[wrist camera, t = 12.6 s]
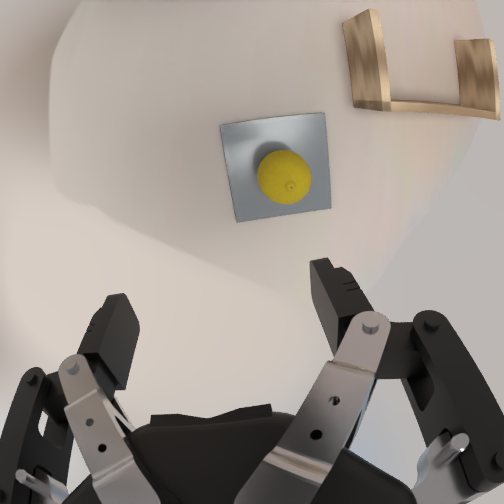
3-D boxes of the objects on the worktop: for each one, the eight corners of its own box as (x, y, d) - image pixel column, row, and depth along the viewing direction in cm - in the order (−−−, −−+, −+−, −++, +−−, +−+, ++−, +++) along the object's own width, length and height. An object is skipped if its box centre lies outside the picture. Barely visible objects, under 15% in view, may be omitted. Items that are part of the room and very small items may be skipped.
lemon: (244, 174, 34) (249, 195, 27) (272, 135, 32) (285, 146, 25) (282, 199, 36) (296, 225, 29) (310, 162, 34) (332, 180, 27)
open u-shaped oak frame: (342, 23, 26) (368, 8, 19) (458, 42, 26) (493, 40, 19) (353, 107, 31) (382, 111, 25) (465, 112, 31) (500, 120, 24)
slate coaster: (219, 125, 31) (219, 125, 31) (323, 112, 31) (324, 113, 31) (236, 220, 37) (236, 222, 37) (330, 206, 37) (331, 208, 37)
